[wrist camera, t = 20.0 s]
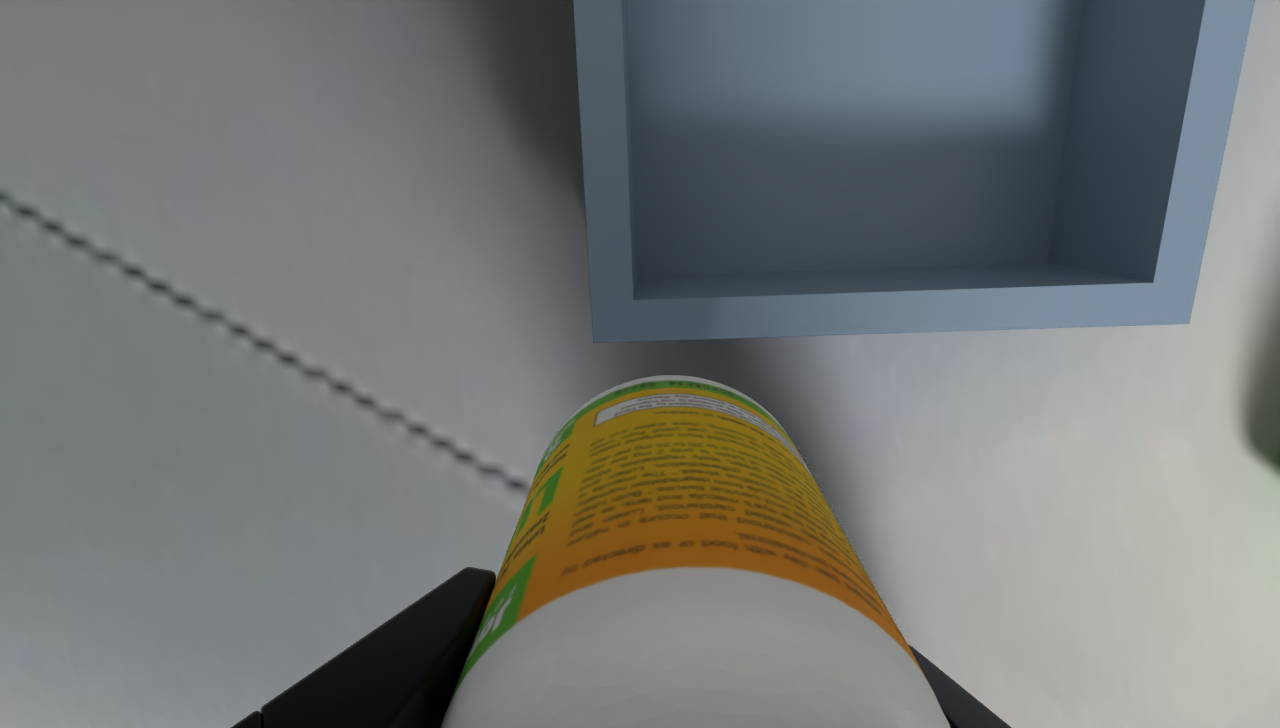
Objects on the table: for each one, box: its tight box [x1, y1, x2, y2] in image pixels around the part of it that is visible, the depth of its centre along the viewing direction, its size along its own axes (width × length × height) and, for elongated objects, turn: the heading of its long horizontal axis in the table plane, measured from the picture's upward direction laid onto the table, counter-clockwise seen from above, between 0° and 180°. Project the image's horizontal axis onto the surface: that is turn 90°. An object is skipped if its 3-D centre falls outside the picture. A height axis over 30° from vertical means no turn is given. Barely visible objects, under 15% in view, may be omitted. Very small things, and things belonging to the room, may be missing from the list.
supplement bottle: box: [441, 375, 951, 728], centre depth 8 cm, size 5×5×10 cm
